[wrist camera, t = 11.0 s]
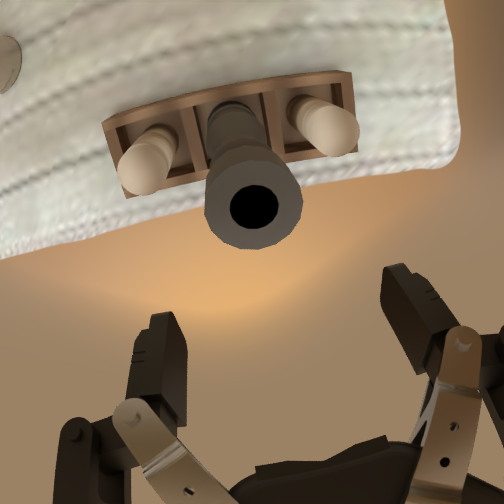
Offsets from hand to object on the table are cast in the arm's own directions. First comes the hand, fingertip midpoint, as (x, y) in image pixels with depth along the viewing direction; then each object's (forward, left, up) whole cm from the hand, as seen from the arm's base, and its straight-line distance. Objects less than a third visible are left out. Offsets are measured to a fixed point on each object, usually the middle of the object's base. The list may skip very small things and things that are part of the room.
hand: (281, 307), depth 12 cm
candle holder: (0, 0, -33) cm, 33 cm away
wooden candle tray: (0, 0, -34) cm, 34 cm away
